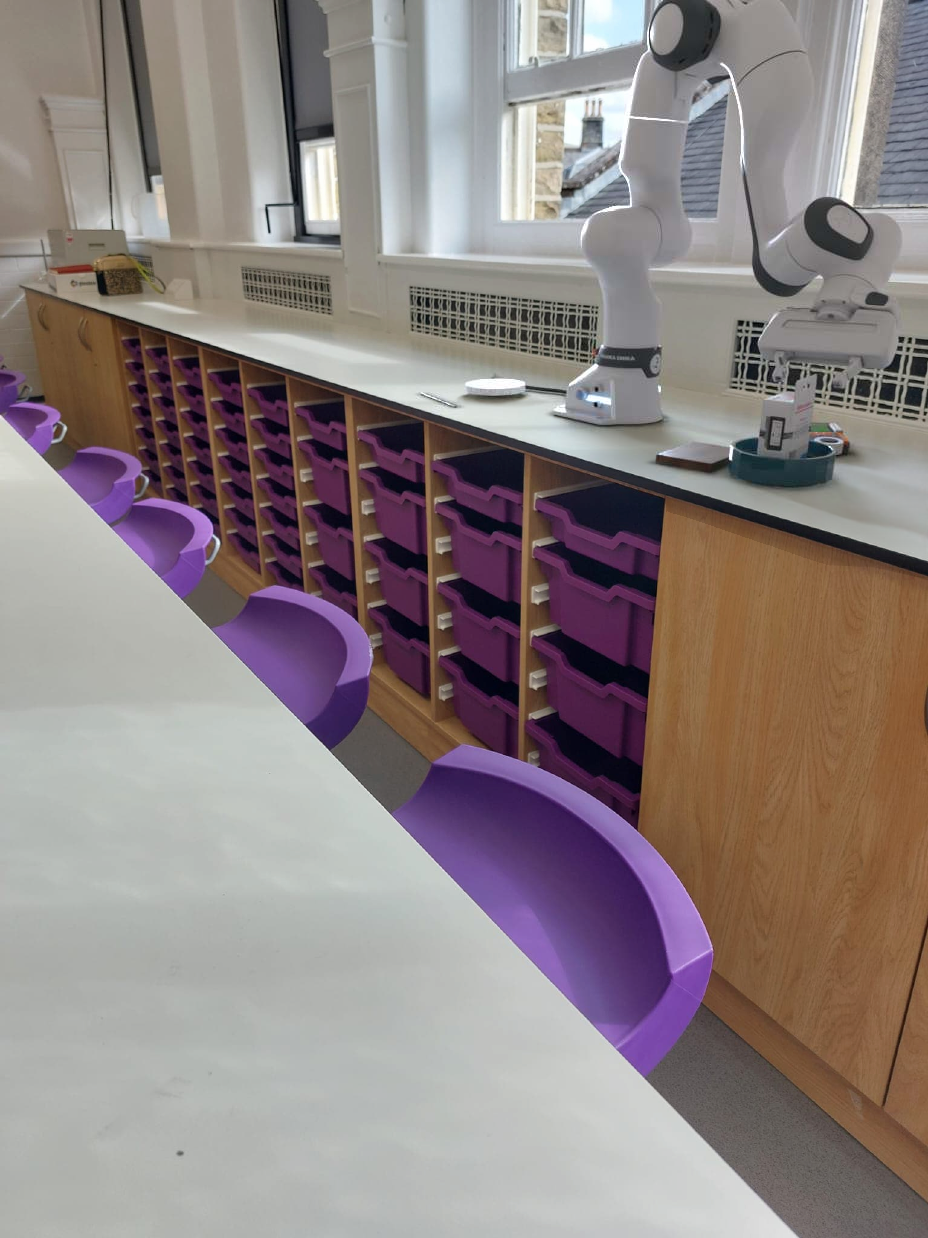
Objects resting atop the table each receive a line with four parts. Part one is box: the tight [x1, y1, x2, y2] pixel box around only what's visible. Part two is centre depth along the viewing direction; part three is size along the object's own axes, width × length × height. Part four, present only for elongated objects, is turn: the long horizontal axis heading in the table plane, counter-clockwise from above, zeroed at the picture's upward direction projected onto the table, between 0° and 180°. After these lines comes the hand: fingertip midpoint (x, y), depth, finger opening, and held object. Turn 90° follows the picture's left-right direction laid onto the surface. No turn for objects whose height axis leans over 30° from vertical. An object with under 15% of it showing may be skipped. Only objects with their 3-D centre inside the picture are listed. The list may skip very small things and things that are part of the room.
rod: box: [420, 392, 458, 409], centre depth 199 cm, size 1×19×1 cm, turn 25°
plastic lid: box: [464, 378, 526, 397], centre depth 204 cm, size 14×14×2 cm
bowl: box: [727, 436, 837, 489], centre depth 135 cm, size 15×15×4 cm
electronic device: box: [809, 421, 851, 456], centre depth 152 cm, size 7×3×15 cm
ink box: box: [757, 373, 818, 459], centre depth 132 cm, size 8×5×15 cm, turn 140°
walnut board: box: [655, 441, 731, 474], centre depth 145 cm, size 10×12×2 cm
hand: (806, 382), depth 133 cm, fingers open, 8 cm apart
